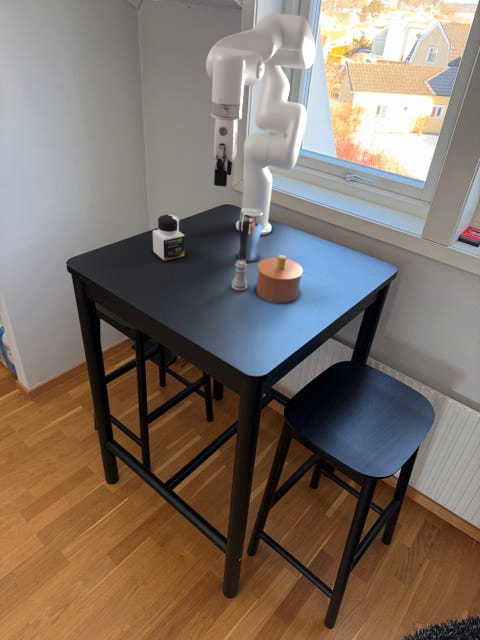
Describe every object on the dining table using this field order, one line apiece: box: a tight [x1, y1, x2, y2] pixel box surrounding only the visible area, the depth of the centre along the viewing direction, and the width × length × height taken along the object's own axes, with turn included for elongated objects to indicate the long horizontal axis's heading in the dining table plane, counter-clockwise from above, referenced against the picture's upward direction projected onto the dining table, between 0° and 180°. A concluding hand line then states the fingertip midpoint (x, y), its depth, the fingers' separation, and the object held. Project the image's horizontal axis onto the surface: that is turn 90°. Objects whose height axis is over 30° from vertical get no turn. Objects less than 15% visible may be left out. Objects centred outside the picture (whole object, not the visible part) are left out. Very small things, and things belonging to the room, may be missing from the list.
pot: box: [256, 271, 302, 304], centre depth 128 cm, size 11×11×7 cm
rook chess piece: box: [230, 259, 248, 292], centre depth 128 cm, size 4×4×8 cm
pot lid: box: [257, 254, 304, 281], centre depth 125 cm, size 12×12×4 cm
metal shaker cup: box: [237, 207, 263, 263], centre depth 142 cm, size 7×7×15 cm
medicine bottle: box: [152, 214, 186, 262], centre depth 140 cm, size 7×7×12 cm
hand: (222, 179), depth 124 cm, fingers open, 9 cm apart
